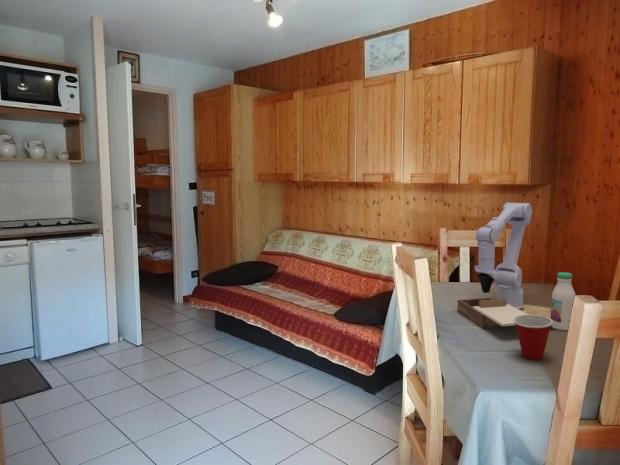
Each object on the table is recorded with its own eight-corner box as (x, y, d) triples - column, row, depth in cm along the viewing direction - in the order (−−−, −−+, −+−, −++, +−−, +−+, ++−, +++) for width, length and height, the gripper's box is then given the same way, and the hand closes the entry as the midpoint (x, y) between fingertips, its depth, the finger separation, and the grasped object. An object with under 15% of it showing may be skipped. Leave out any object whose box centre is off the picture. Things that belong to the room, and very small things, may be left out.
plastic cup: (505, 350, 143) (506, 314, 141) (537, 348, 144) (539, 312, 142) (524, 365, 132) (526, 326, 131) (559, 362, 133) (561, 323, 131)
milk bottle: (572, 324, 164) (574, 271, 162) (576, 331, 157) (579, 276, 154) (548, 323, 167) (550, 270, 164) (552, 330, 159) (554, 275, 157)
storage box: (489, 309, 185) (489, 297, 184) (518, 325, 165) (518, 312, 164) (457, 311, 183) (457, 299, 182) (482, 328, 163) (482, 315, 163)
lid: (507, 306, 171) (507, 297, 171) (541, 323, 152) (541, 314, 151) (473, 308, 169) (473, 300, 169) (502, 326, 150) (502, 317, 149)
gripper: (467, 255, 179) (467, 288, 181) (486, 262, 165) (486, 298, 167) (484, 254, 180) (483, 287, 182) (504, 261, 166) (503, 296, 168)
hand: (485, 292), depth 174 cm, fingers closed
